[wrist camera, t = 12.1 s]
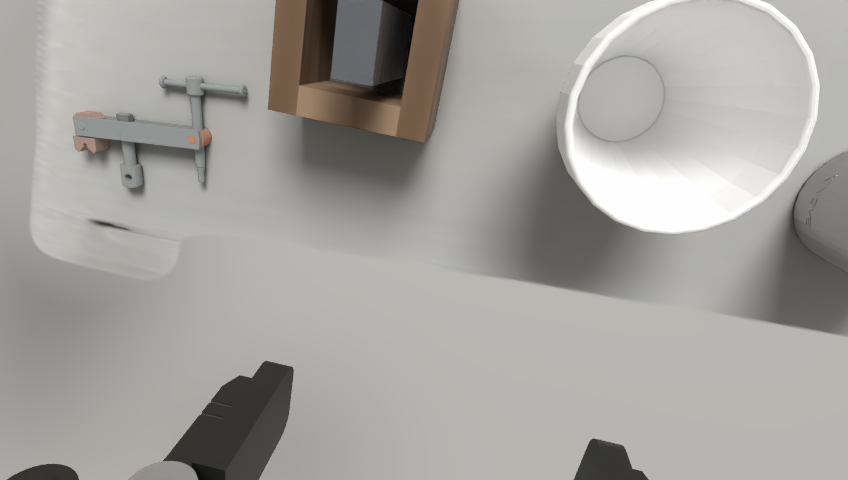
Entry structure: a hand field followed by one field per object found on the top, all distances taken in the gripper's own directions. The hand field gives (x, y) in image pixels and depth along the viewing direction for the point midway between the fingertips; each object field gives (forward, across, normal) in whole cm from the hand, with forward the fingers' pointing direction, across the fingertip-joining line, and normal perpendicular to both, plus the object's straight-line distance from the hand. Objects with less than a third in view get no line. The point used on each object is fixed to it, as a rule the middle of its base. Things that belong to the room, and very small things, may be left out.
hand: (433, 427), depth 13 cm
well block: (+30, +9, -8) cm, 33 cm away
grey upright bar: (+30, +9, -9) cm, 33 cm away
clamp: (+31, +26, +2) cm, 40 cm away
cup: (+30, -10, -8) cm, 33 cm away
